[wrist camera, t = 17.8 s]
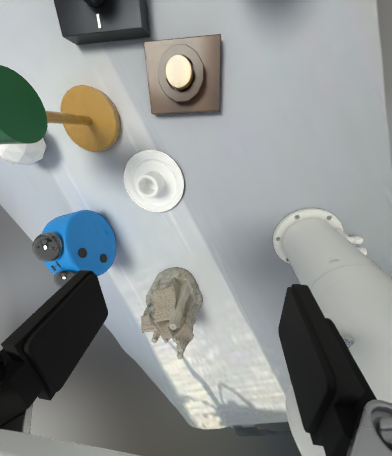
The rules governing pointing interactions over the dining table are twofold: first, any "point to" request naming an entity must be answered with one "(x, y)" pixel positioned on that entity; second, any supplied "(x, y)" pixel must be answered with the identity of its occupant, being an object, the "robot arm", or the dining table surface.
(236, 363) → the dining table surface
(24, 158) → the geometric ball
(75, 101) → the desk lamp
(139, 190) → the candle holder
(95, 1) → the dimmer knob
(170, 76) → the button
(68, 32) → the dimmer panel
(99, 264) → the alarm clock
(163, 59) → the switch block
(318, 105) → the dining table surface
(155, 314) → the ceramic cottage
